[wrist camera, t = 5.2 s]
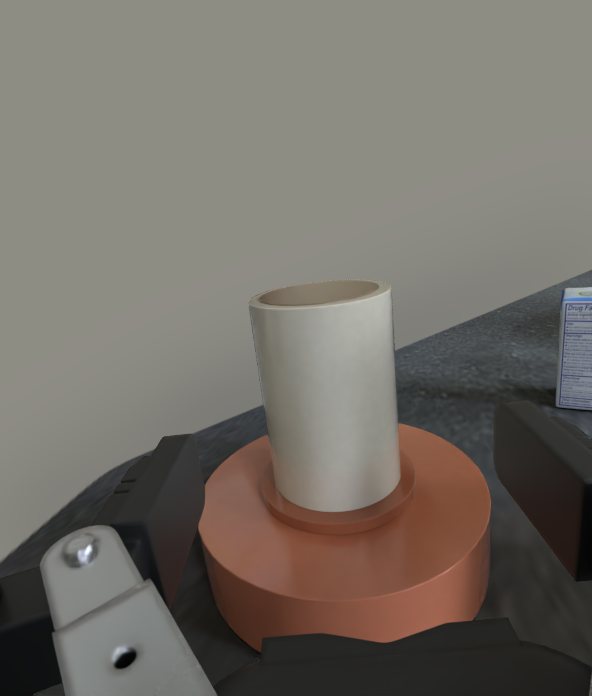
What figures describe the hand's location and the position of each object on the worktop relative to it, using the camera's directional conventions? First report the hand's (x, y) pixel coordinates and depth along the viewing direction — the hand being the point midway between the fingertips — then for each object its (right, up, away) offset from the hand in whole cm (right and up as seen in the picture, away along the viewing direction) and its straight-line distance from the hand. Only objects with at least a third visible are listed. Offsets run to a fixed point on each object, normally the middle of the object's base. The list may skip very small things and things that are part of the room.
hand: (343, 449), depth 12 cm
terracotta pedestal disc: (+1, -7, +11) cm, 13 cm away
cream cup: (+1, -3, +10) cm, 11 cm away
